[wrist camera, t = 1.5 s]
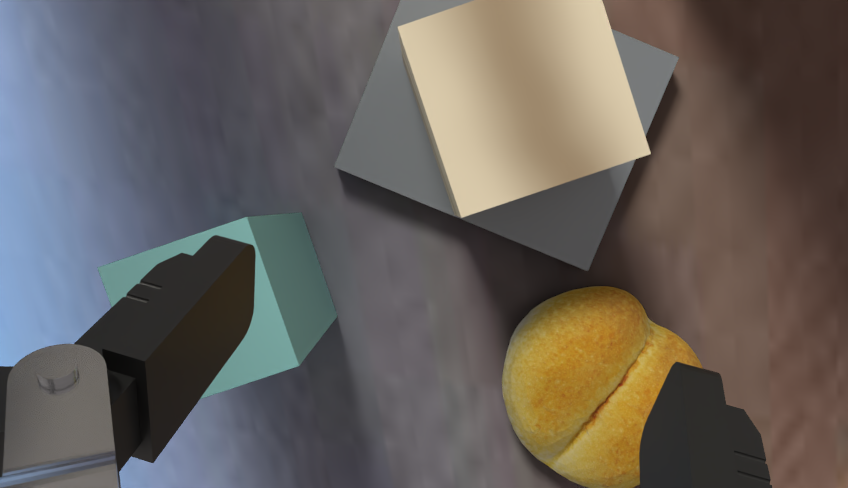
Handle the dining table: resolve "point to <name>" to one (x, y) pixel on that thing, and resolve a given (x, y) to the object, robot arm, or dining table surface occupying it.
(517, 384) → the bread roll
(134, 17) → the dining table surface
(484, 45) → the base brick
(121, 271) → the teal brick
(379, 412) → the dining table surface
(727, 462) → the robot arm
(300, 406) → the dining table surface
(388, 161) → the plate
